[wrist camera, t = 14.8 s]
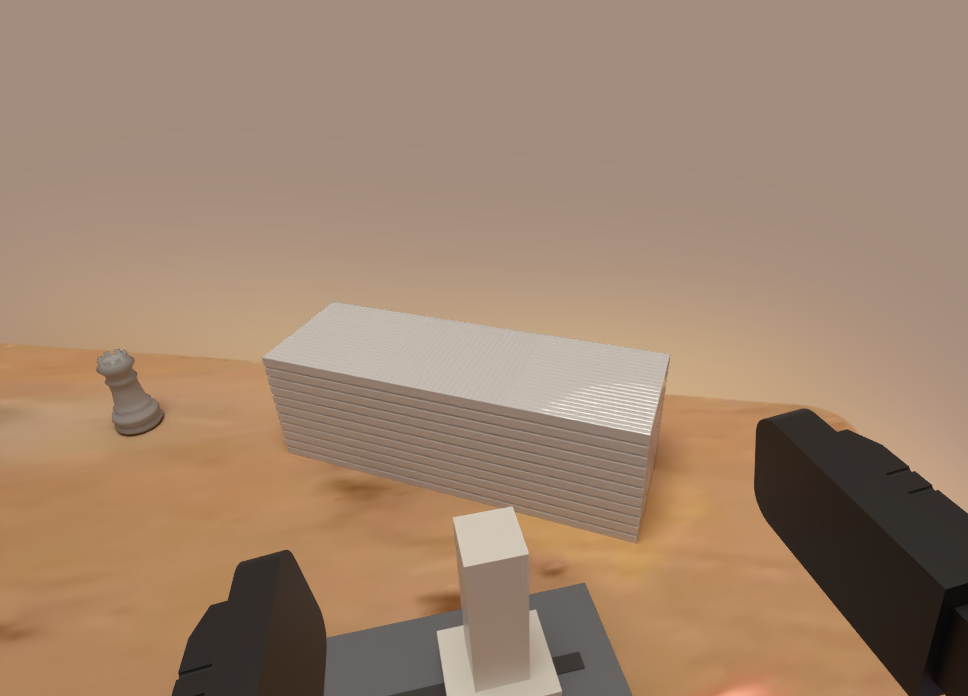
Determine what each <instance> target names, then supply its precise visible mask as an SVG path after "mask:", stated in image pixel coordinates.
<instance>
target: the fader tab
mask: <svg viewBox="0 0 968 696" xmlns="http://www.w3.org/2000/svg"><path fill="white" fill-rule="evenodd" d="M453 525H454V535H455V545H456V555H457V565H458V575H459V585H460V596H461V606H462V616H463V625H462V626H458V627H453V628H449V629H444V630H439V631H437V638H438V645H439V651H440V658H441V664H442V671H443V677H444V683H445V690H446V696H562V689H561V686H560V683H559V680H558V677H557V673H556V670H555V667H554V664H553V661H552V658H551V655H550V652H549V649H548V646H547V642H546V639H545V636H544V633H543V630H542V627H541V624H540V621H539V618H538V614H537V611H536V610H531V611H529V553H528V550H527V547H526V544H525V541H524V538H523V535H522V532H521V529H520V526H519V524H518V521H517V518H516V515H515V512H514V509H513V506H511V507H506V508H501V509H496V510H490V511H485V512H480V513H474V514H469V515H464V516H459V517H453Z"/></svg>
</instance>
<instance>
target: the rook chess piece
mask: <svg viewBox="0 0 968 696" xmlns="http://www.w3.org/2000/svg"><path fill="white" fill-rule="evenodd" d="M114 352H115V354H113V355H110V352H109V351H108V352H106V353H104V356H105V358H104V359H103V357H102V356H99V357H98V358H97V360H98V361H97V362H98V366H97V372H98V373H99V374H101V375H103V376H105V377H106V380H105V384H106V385H108V386H109V387H110V390H111V392H112V396H113V400H114V407H113V413H112V422H114V423H115V429H116V430H117V431H118V432H120V433H122V434H126V435H137V434H141V433H144V432H146V431H148V430H150V429H152V428H154V427H155V426H156V425H157V424H158V423H159V422H160V420H161V418H162V415H163V411H162V409H160V408H159V403H158V402H157V401H156V400H155V399H153V398H151V396H150V395H148V394H146V393H145V392H144V390H143V388H142V387H141V385H140V384H139V382H138V380H137V372H136V371H134V370H133V369H132V366H133V364H134V358H133V357H131V356H129V355H128V354H127V352H126V351H125V350H123V351H120V349H117V350H114ZM121 352H122V353H121Z"/></svg>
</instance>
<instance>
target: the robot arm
mask: <svg viewBox="0 0 968 696" xmlns="http://www.w3.org/2000/svg"><path fill="white" fill-rule="evenodd" d="M754 490H755V496H756V500H757V503H758V505H759V508H760V510H761V512H762V514H763V516H764V518H765V519H766V521H767V522H768V524H769V525H770V526H771V527H772V529H773V530H774V531H775V532H776V534H777V535H778V536H779V537H780V538H781V540H782V541H783V542H784V543H785V545H786V546H787V547H788V548H789V550H790V551H791V552H792V553H793V554H794V556H795V557H796V558H797V559H798V561H799V562H800V563H801V564H802V565H803V567H804V568H805V569H806V570H807V572H808V573H809V574H810V575H811V576H812V578H813V579H814V580H815V581H816V583H817V584H818V585H819V586H820V588H821V589H822V590H823V591H824V592H825V594H826V595H827V596H828V597H829V599H830V600H831V601H832V602H833V603H834V605H835V606H836V607H837V608H838V610H839V611H840V612H841V613H842V615H843V616H844V617H845V618H846V619H847V621H848V622H849V623H850V624H851V626H852V627H853V628H854V629H855V630H856V632H857V633H858V634H859V635H860V637H861V638H862V639H863V640H864V641H865V643H866V644H867V645H868V646H869V648H870V649H871V650H872V651H873V653H874V654H875V655H876V656H877V657H878V659H879V660H880V661H881V662H882V664H883V665H884V666H885V667H886V668H887V670H888V671H889V672H890V673H891V675H892V676H893V677H894V678H895V679H896V681H897V682H898V683H899V684H900V686H901V687H902V688H903V689H904V691H905V692H906V693H907V694H908V695H909V696H940V695H943V694H945V695H946V696H968V513H966V512H965V511H964V510H963V509H961V508H960V507H959V506H957V505H956V504H955V503H954V502H952V501H951V500H950V499H949V498H948V497H946V496H945V495H944V494H942V493H941V492H940V491H939V490H936V491H935V490H934V489H933V487H932V485H931V484H930V483H929V482H928V481H926V480H925V479H924V478H923V477H921V476H920V475H919V474H918V473H916V472H915V471H914V472H911V470H910V468H909V466H908V465H906V464H905V463H904V462H903V461H901V460H900V459H899V458H898V457H896V456H895V455H894V454H893V453H891V452H890V451H889V450H888V449H887V448H885V447H884V446H883V445H881V444H879V443H876V442H874V441H872V440H870V439H868V438H865V437H863V436H861V435H859V434H856V433H854V432H852V431H850V430H843V431H839V432H836V431H835V430H834V429H833V428H832V427H830V426H829V425H828V424H827V423H826V422H825V421H823V420H822V419H821V418H820V417H819V416H818V415H816V414H815V413H814V412H812V411H811V410H809V409H799V410H795V411H792V412H788V413H784V414H781V415H777V416H773V417H769V418H766V419H762V420H760V421H759V422H758V424H757V428H756V448H755V476H754ZM326 653H327V639H326V630H325V624H324V620H323V616H322V613H321V610H320V608H319V606H318V604H317V602H316V600H315V598H314V596H313V594H312V592H311V590H310V588H309V586H308V584H307V582H306V580H305V578H304V576H303V574H302V572H301V570H300V568H299V566H298V564H297V562H296V560H295V558H294V556H293V554H292V553H291V552H290V551H289V550H283V551H280V552H276V553H272V554H269V555H265V556H261V557H258V558H254V559H250V560H246V561H243V562H240V563H239V564H238V566H237V568H236V570H235V573H234V577H233V581H232V585H231V589H230V594H229V598H228V601H225V602H221V603H217V604H214V605H210V607H209V608H208V610H207V611H206V613H205V614H204V616H203V617H202V619H201V620H200V622H199V623H198V625H197V626H196V628H195V629H194V631H193V632H192V634H191V635H190V637H189V638H188V642H187V645H186V649H185V652H184V655H183V659H182V662H181V666H180V669H179V672H178V674H179V680H176V683H175V686H174V689H173V693H172V696H324V684H325V669H326Z"/></svg>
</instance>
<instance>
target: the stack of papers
mask: <svg viewBox="0 0 968 696" xmlns="http://www.w3.org/2000/svg"><path fill="white" fill-rule="evenodd" d="M262 359H263V363H264V366H267V367H266V368H265V371H266V374H267V375H268V376H269V377H268V381H269V385H272V386H271V387H270V389H271V392H272V394H275V395H273V399H274V403H277V404H276V405H275V407H276V410H277V412H279V413H278V417H279V420H281V422H280V425H281V428H282V429H284V430H283V431H282V432H283V435H284V437H286V438H285V443H286V445H288V446H287V450H288V453H292V454H296V455H299V456H303V457H307V458H311V459H315V460H319V461H322V462H326V463H330V464H334V465H338V466H342V467H345V468H349V469H353V470H357V471H361V472H365V473H368V474H372V475H376V476H380V477H384V478H388V479H391V480H395V481H399V482H403V483H407V484H411V485H414V486H418V487H422V488H426V489H430V490H434V491H437V492H441V493H445V494H449V495H453V496H457V497H460V498H464V499H468V500H472V501H476V502H480V503H483V504H487V505H491V506H495V507H499V508H506V507H511V506H513V509H514V512H518V513H522V514H525V515H529V516H533V517H537V518H541V519H545V520H548V521H552V522H556V523H560V524H564V525H568V526H571V527H575V528H579V529H583V530H587V531H591V532H594V533H598V534H602V535H606V536H610V537H614V538H617V539H621V540H625V541H629V542H633V543H637V539H638V535H639V530H640V526H641V521H642V517H643V512H644V508H645V503H646V499H647V494H648V490H649V485H650V481H651V476H652V472H653V468H654V463H655V459H656V454H657V447H658V439H659V433H660V425H661V418H662V411H663V403H664V396H665V389H666V382H667V374H668V367H669V366H668V365H669V360H670V354H666V353H659V352H653V351H646V350H639V349H633V348H627V347H620V346H614V345H608V344H601V343H595V342H588V341H582V340H575V339H568V338H563V337H556V336H549V335H543V334H537V333H530V332H524V331H517V330H511V329H504V328H498V327H492V326H485V325H479V324H472V323H466V322H459V321H452V320H446V319H439V318H434V317H427V316H420V315H414V314H408V313H401V312H395V311H388V310H382V309H376V308H369V307H363V306H356V305H350V304H343V303H337V302H332V303H331V304H330V305H329V306H327V307H326V308H325V309H323V311H321V312H320V313H318V314H317V315H316V316H315V317H313V318H312V319H311V320H309V321H308V322H307V323H306V324H304V325H303V326H302V327H300V328H299V329H298V330H297V331H295V332H294V333H293V334H291V335H290V336H289V337H288V338H286V339H285V340H284V341H282V342H281V343H280V344H279V345H277V346H276V347H275V348H274V349H272V350H271V351H270V352H268V353H267V354H266V355H265V356H263V357H262Z"/></svg>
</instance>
